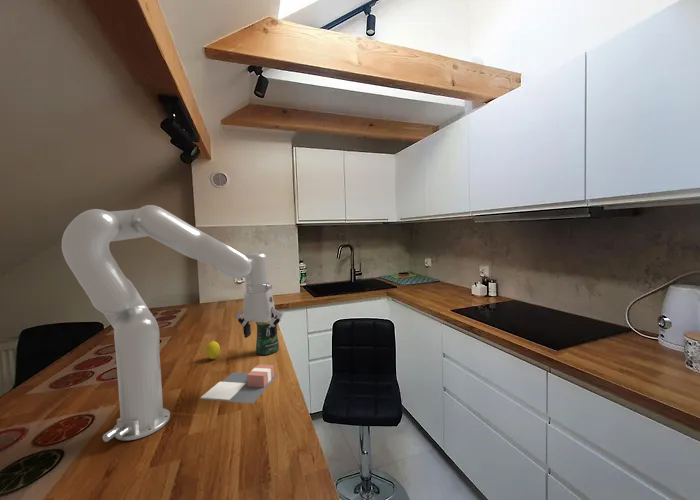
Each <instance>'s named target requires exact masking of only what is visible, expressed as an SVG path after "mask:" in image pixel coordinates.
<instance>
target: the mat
mask: <svg viewBox="0 0 700 500" xmlns="http://www.w3.org/2000/svg"><path fill="white" fill-rule="evenodd" d="M249 373H250V372H236V371H235V372H232V373H230V374H229V375H228V376H227V377H226V378H225V379H223V380H222V381H221V382H235V383H246V384H245V385H244V386H243V387H242V388H241V389H240V390H239V391H238V392H237V393H236V394H235V395H234V396H233V397H232V398H231V399H230V400H217V399H204V398H201V400H205V401H207V400H208V401H218V402H219V401H220V402H232V403H244V404H245V403H246V404H254V403H255V402H256V401H257V400H258V399H259V398H260V397H261V395H262V394H263V393H264V392H265V391H266V389H268V387H269V386H271V384H272V383H273V381H274V380H275V379H276V378H277V376H278V374H274V377H273V378H272V379H271V381H270V382H269V383H268V384H267V385H266V386H265V387H249V386H248V383H247V375H248V374H249Z"/></svg>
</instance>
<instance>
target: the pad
mask: <svg viewBox="0 0 700 500" xmlns="http://www.w3.org/2000/svg"><path fill="white" fill-rule="evenodd" d="M245 384H246V383H235V382H222V381H218V382H217V383H216V384H215V385H214V386H213V387H211V388H210V389H208V390H207V391H206V392H205V393H203V395H201V397H200V399H202V398H204V399H203V400H205V399H217V400H216V401H218V400H230V399H231V398H232V397H233V396H234V395H235V394H236V393H237V392H238V391H239V390H240V389H241V388H242V387H243V386H244V385H245Z"/></svg>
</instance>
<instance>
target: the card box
mask: <svg viewBox="0 0 700 500" xmlns="http://www.w3.org/2000/svg"><path fill="white" fill-rule="evenodd" d="M248 373H249V374H248V375H247V383H248V386H249V387H265V386H266V385H267V384H268V383H269V382H270V381H271V379H272V378H273V377H274V375H275V364H273V365H272V364H257V365H256V366H255V367H254V368H253V369H251V370H250V372H248Z"/></svg>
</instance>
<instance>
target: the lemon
mask: <svg viewBox="0 0 700 500" xmlns="http://www.w3.org/2000/svg"><path fill="white" fill-rule="evenodd" d="M220 353H221V346H220V344H219V342H217V341H215V340H211V341H210V342H208V343H207V345H206V347H205V355H206V357H207V358H208V359H211V360H215V359H216V358H218V357H219V355H220Z"/></svg>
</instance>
